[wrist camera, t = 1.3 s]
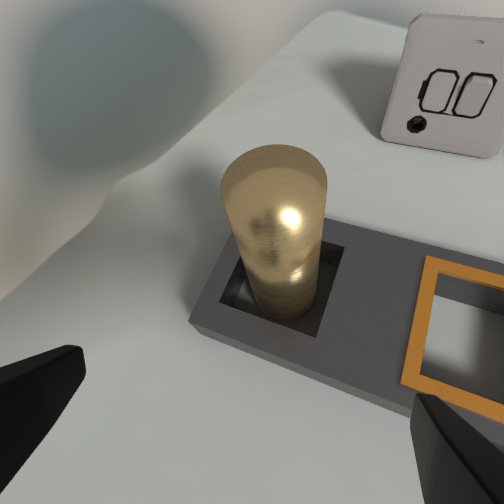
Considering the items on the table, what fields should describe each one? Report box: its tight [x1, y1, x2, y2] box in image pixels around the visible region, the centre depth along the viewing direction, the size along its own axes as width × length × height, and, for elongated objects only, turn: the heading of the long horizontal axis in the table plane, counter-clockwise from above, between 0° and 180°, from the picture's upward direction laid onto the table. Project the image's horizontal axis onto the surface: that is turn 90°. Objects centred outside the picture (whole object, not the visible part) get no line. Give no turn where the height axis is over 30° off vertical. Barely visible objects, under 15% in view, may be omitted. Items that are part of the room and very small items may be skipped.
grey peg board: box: [188, 218, 504, 453], centre depth 21 cm, size 21×10×3 cm, turn 67°
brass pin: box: [220, 145, 327, 321], centre depth 19 cm, size 4×4×12 cm
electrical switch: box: [380, 13, 504, 158], centre depth 26 cm, size 9×5×9 cm, turn 68°
